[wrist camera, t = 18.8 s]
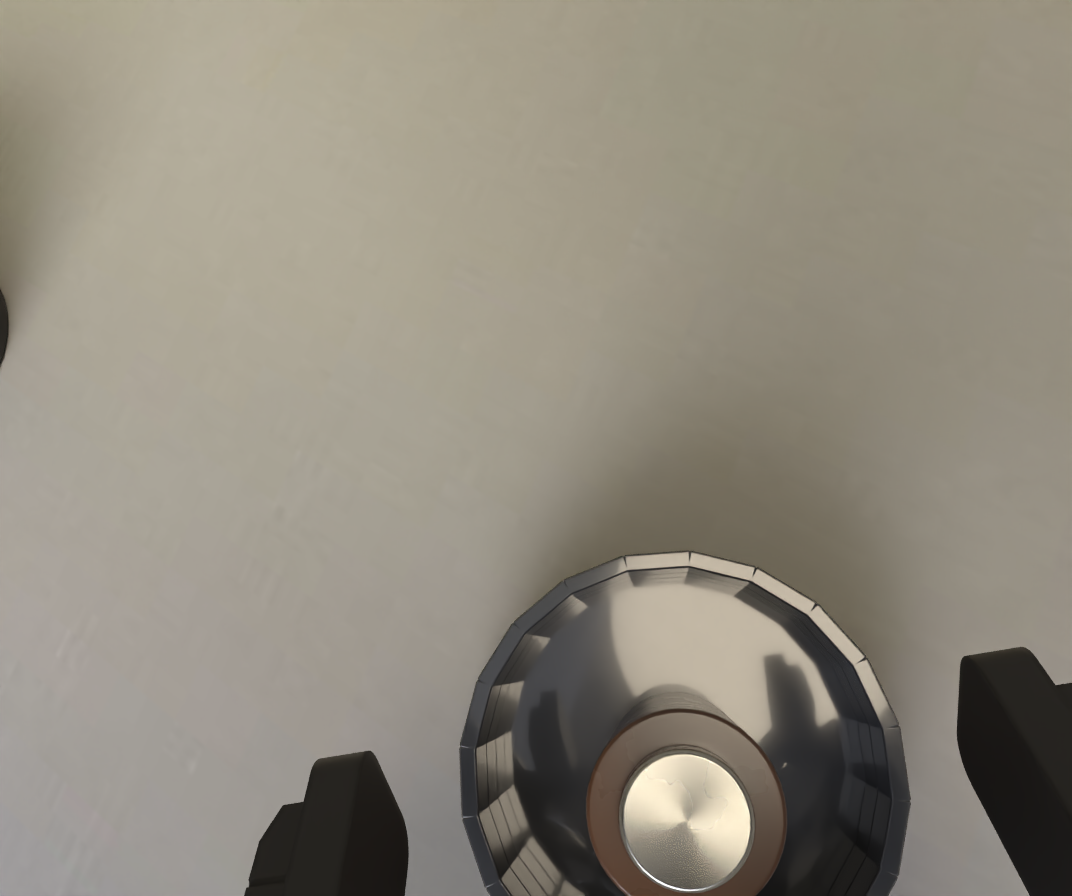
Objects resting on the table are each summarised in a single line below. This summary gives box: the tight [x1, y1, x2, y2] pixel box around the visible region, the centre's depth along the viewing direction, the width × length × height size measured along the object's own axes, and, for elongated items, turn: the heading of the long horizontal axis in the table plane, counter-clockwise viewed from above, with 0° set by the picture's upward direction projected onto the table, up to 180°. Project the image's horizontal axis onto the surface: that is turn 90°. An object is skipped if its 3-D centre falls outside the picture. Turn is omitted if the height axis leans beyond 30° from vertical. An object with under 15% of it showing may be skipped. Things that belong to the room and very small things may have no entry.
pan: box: [459, 551, 911, 896], centre depth 21 cm, size 10×10×3 cm
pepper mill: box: [586, 692, 787, 896], centre depth 18 cm, size 3×3×8 cm
